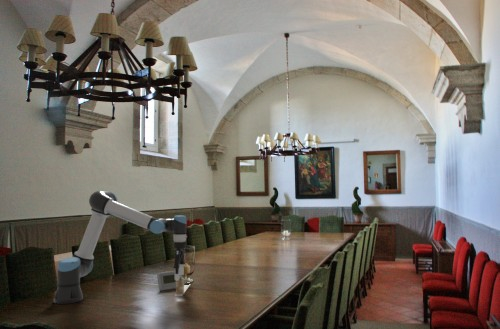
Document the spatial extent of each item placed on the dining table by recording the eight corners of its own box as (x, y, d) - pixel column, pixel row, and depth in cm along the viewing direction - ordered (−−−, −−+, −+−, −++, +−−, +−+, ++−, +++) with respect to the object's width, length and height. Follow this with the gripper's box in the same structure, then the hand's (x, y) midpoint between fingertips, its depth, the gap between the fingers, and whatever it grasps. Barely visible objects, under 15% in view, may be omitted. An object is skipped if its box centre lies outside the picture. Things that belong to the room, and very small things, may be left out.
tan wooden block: (175, 294, 241) (175, 278, 241) (177, 292, 245) (177, 277, 245) (182, 294, 241) (182, 278, 241) (183, 292, 245) (183, 276, 245)
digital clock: (158, 291, 250) (158, 274, 251) (155, 288, 258) (155, 271, 259) (184, 288, 258) (184, 271, 258) (180, 286, 266) (180, 269, 266)
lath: (174, 296, 238) (174, 295, 238) (185, 283, 274) (185, 282, 274) (181, 296, 238) (181, 295, 238) (191, 283, 273) (191, 282, 274)
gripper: (182, 243, 233) (181, 281, 231) (189, 239, 257) (189, 273, 256) (169, 243, 233) (168, 281, 231) (177, 239, 258) (177, 273, 256)
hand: (179, 277), depth 243 cm, fingers open, 13 cm apart
